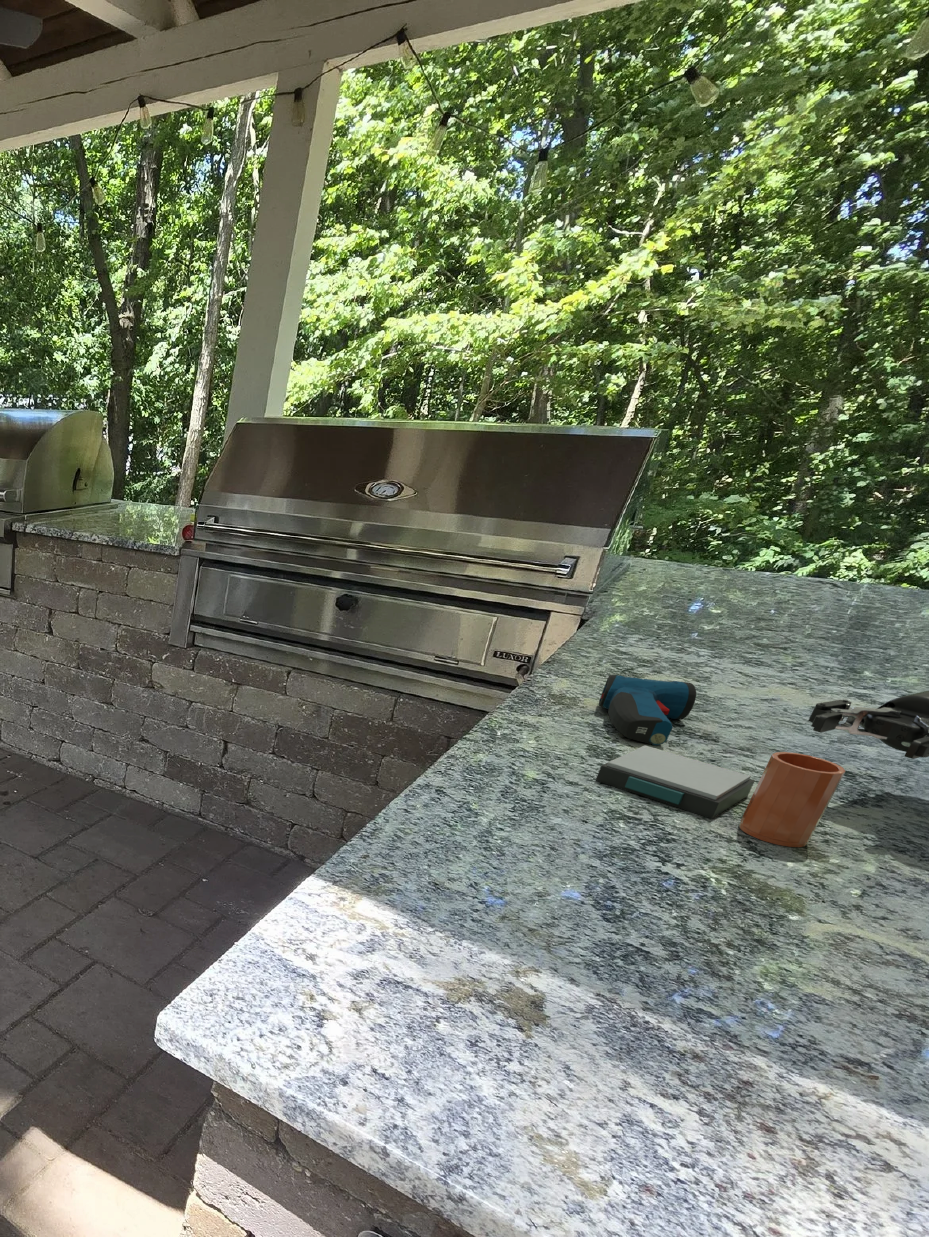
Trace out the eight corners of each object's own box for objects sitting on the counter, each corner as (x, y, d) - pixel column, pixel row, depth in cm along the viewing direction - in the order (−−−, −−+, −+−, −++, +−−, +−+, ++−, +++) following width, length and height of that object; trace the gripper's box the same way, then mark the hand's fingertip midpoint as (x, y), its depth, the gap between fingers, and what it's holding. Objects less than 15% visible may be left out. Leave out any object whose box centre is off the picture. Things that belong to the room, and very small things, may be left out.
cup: (814, 839, 99) (852, 766, 95) (797, 852, 96) (836, 777, 92) (748, 818, 104) (782, 748, 100) (730, 830, 101) (764, 758, 97)
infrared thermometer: (735, 723, 120) (688, 677, 137) (628, 709, 125) (595, 666, 141) (717, 760, 123) (673, 711, 139) (613, 745, 128) (582, 699, 144)
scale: (747, 795, 110) (757, 776, 109) (710, 819, 103) (719, 799, 102) (634, 761, 120) (641, 743, 119) (593, 781, 114) (601, 762, 112)
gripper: (870, 675, 109) (804, 689, 104) (1029, 712, 97) (963, 730, 92) (844, 726, 112) (778, 742, 107) (995, 767, 100) (929, 788, 95)
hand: (864, 736), depth 99 cm, fingers open, 8 cm apart
